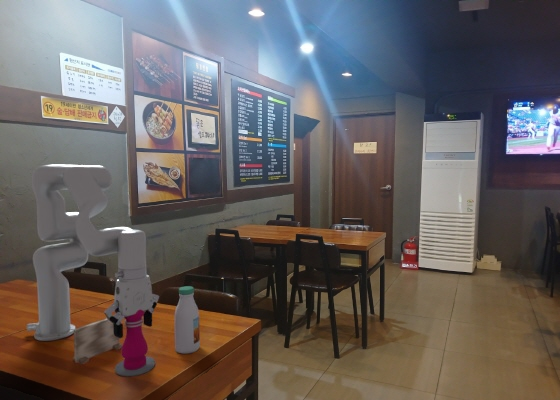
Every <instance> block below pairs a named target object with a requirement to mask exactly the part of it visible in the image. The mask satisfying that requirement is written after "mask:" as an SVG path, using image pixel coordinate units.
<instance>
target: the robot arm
mask: <svg viewBox="0 0 560 400" xmlns="http://www.w3.org/2000/svg"><path fill="white" fill-rule="evenodd" d="M112 179H113V178H112V174H111V173H110V171H109V170H108V169H107V168H106V167H105V166H103V165H85V164H84V165H83V164H81V165H78V164H45V165H44V164H43V165H40V166H38V167H35V169H33V172H32V175H31V189H32V190H33V194H34V197H35V200H36V222H37V228H36V230H37V235H38V238H39V239H40V240H41V241H43V242H57V241H66V240H69V242H62V243H55V244H54V243H53V244H50V245H49V244H48V245H44V246H41V247H39V248H37V249H36V250H35V251H34V252H33V255H32V264H33V268H34V271H35V275H36V285H37V286H36V288H37V303H38V304H37V305H38V322H36V323H34V322H33V323H27V325H26V329H27V332H32V331H34V339H35V340H37V341H41V342H45V341H46V342H49V341H56V340H61V339H64V338H67V337H69V336H71V335H74V329H76V328H77V327H76V325H74V324H71V306H70V305H71V304H70V284H69V280H68V279H67V277H65V276H64V275H63V273H62V272H63V271H67V270H72V269H77V268H81V267H83V266H85V264H86V263H88V260H89V256H94V257H102V256H106V255H112V254H117V260H118V263H117V264H118V266H117V267H118V269H117V272H115V273H114V277H115V278H116V283H115V287H114V299H113V303H112V304H110V306H108V307H107V308H106V309H105V310H104V312H103V313H104V315H105V317H106V319H108V320H109V321H111V322H112V323H113V327H114V335H115V336H116V337H118V338H119V339H123V338H124V325H123V323H122V322H123V320H124V319H125V318H124V317H128V316H131V315H134V314H136V312H137V311H138V310H143V311H145V313H144V315H143V316H142V318H143V325H144V326H147V327H149V328H151V327H152V326H153V314H154V312H155V309H156V307H157V304H158V301H159V298H160V296H159V295H158V294H155V293H153V289H152V282H151V278H150V275H148V274H147V237H146V236H147V235H146V232H145V231H143V230H140V229H133V228H131V227H129V226H117V227H116V226H115V227H108V228H102V229H101V228H100V229H96V228H95V226H94V225H93V223H92V222H91V218H93V217H95V216H97V215H98V214H100V213H101V212H103V211H104V210H105V209H106V208H107V205H108V203H109V199H108V196H107V195H106V193H105V192H104V191H107V190H109V189H110V188H111V185H112V182H113V180H112ZM60 191H68V192H69V194H70V195H71V197H72V199H73V200H74V202H75V204H76V205H77V208H78V210H79V211H71V212H67V211H66V210H67V209H66V200H65V197H64V196H63V195H62V193H61V192H60ZM117 278H118V279H117ZM113 312H114V314H113ZM118 317H119V318H118Z"/></svg>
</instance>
